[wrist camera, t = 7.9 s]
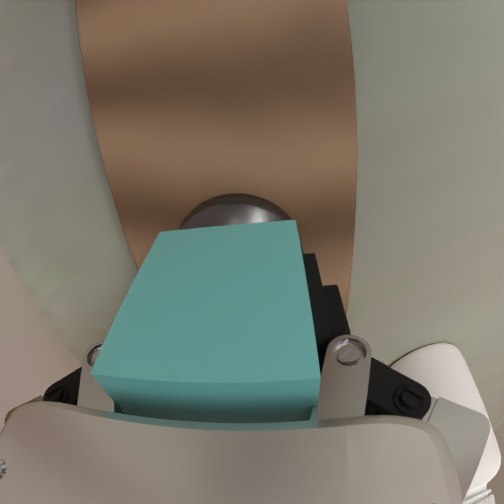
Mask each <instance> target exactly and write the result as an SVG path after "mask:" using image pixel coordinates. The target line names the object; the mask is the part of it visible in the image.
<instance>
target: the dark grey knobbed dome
mask: <svg viewBox="0 0 504 504" xmlns="http://www.w3.org/2000/svg"><path fill="white" fill-rule="evenodd" d="M286 220H292V219H291V218H290V217H289V215H288V214H287V213H286V212H285V211H284V210H282V209H281V208H280V207H279V206H277V205H276V204H274V203H272V202H270V201H268V200H266V199H264V198H261V197H258V196H254V195H250V194H241V193H232V194H224V195H219V196H216V197H212V198H210V199H208V200H206V201H204V202H202V203H200V204H199V205H197V206H196V207H195V208H194V209H193V210H191V211H190V213H189V214H188V215H187V216H186V217H185V219H184V221H183V222H182V224H181V226H180V228H179V230H183V229H193V228H203V227H214V226H225V225H236V224H248V223H260V222H273V221H286ZM298 235H299V240H300V246H301V251H302V254H304V252H303V246H302V241H301V237H300V234H299V231H298Z"/></svg>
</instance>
